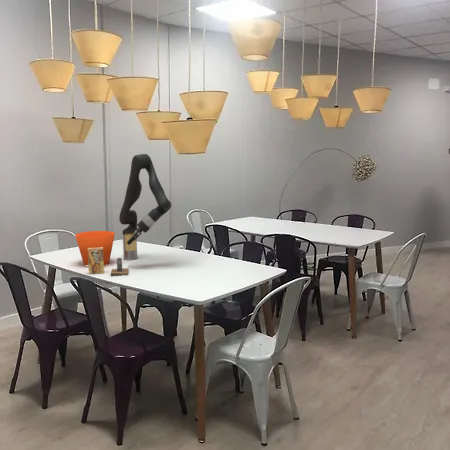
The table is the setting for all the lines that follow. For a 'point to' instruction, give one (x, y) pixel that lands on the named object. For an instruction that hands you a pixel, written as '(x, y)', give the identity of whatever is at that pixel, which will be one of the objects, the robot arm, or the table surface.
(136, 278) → the table surface
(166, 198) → the robot arm
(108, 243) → the flowerpot
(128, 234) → the sleeve
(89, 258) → the candy box
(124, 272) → the post base
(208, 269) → the table surface
